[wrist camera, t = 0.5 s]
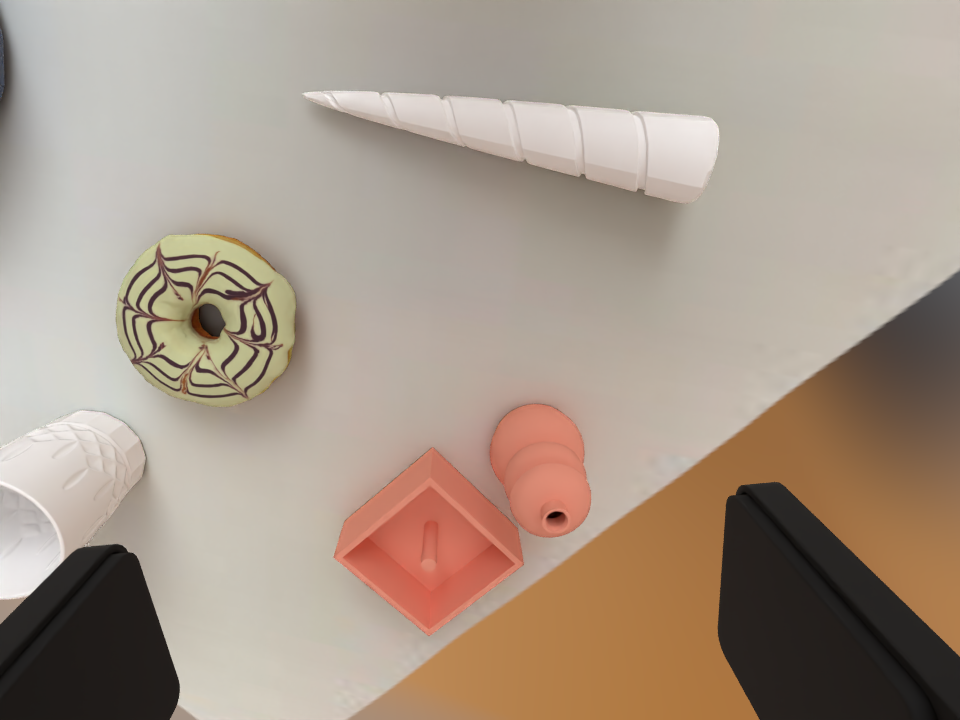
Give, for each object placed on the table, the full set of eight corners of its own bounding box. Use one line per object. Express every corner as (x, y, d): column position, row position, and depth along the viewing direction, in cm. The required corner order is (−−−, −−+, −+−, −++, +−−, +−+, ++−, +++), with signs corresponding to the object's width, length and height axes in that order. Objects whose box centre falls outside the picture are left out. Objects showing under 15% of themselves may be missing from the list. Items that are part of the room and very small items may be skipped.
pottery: (431, 595, 45) (425, 705, 36) (344, 521, 43) (313, 619, 33) (609, 457, 42) (653, 539, 33) (526, 368, 39) (548, 430, 30)
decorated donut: (322, 263, 37) (308, 273, 33) (283, 408, 40) (266, 432, 36) (155, 207, 35) (122, 212, 31) (128, 363, 38) (94, 383, 34)
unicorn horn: (311, 24, 32) (288, 0, 28) (703, 125, 35) (740, 119, 30) (301, 113, 34) (277, 104, 29) (677, 203, 36) (710, 209, 32)
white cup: (22, 469, 40) (-111, 561, 31) (62, 380, 38) (-67, 450, 29) (129, 518, 42) (35, 620, 32) (173, 436, 40) (85, 520, 30)
